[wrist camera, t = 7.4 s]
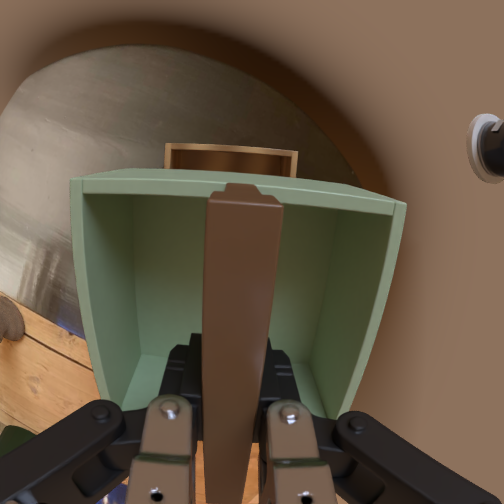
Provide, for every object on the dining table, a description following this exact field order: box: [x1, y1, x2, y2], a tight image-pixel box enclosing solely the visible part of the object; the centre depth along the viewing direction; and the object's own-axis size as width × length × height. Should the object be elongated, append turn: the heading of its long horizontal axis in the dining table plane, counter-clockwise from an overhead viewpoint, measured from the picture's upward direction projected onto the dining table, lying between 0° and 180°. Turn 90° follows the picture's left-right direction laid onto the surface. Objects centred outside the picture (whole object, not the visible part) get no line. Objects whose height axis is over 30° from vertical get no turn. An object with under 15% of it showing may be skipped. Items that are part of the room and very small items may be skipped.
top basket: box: [70, 168, 407, 504], centre depth 13 cm, size 13×13×11 cm
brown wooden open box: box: [164, 143, 298, 178], centre depth 33 cm, size 13×13×7 cm
